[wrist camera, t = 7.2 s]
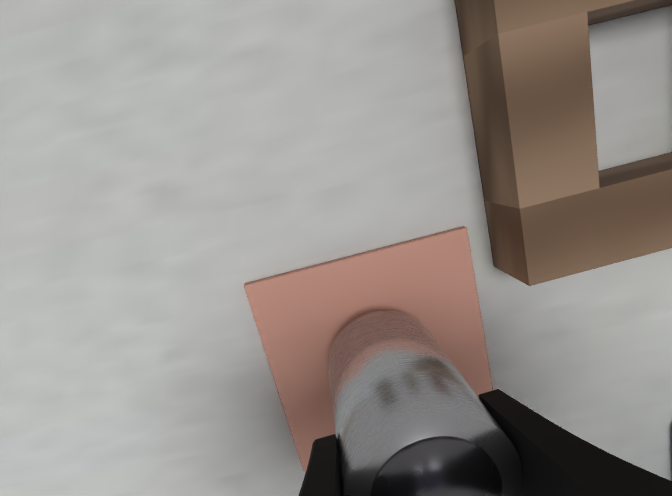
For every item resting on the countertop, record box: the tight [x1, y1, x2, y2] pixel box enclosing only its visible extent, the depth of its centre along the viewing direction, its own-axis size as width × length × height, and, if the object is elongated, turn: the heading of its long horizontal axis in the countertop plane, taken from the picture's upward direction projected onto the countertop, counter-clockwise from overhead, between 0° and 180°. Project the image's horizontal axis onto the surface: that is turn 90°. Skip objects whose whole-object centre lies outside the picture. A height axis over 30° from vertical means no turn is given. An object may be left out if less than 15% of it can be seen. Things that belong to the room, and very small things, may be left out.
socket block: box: [455, 0, 672, 286], centre depth 13 cm, size 11×11×2 cm
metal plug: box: [328, 311, 523, 496], centre depth 12 cm, size 4×4×6 cm
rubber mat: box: [244, 226, 493, 471], centre depth 16 cm, size 9×9×1 cm
